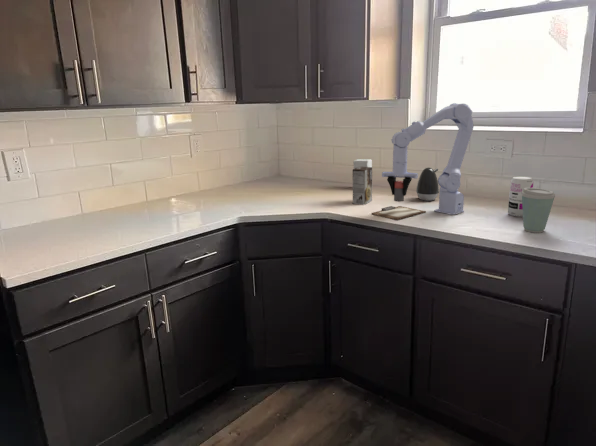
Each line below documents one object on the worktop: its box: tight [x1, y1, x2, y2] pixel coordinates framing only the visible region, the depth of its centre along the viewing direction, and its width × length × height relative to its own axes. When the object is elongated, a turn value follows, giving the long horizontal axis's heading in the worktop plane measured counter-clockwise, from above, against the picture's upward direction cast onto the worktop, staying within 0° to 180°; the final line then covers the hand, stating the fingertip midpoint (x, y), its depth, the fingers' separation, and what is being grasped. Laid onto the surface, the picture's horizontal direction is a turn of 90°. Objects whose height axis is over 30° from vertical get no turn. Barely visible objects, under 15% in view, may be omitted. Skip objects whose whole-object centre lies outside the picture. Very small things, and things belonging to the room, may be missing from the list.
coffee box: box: [352, 166, 373, 206], centre depth 218 cm, size 9×6×16 cm
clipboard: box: [371, 205, 427, 221], centre depth 197 cm, size 14×18×2 cm
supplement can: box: [507, 175, 534, 218], centre depth 187 cm, size 8×8×15 cm
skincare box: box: [352, 158, 373, 169], centre depth 249 cm, size 8×7×16 cm
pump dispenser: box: [415, 167, 440, 202], centre depth 219 cm, size 10×10×15 cm
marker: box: [393, 180, 405, 202], centre depth 194 cm, size 4×4×8 cm
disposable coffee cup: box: [521, 187, 556, 234], centre depth 165 cm, size 11×11×15 cm
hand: (399, 194), depth 195 cm, fingers closed on marker, 4 cm apart
